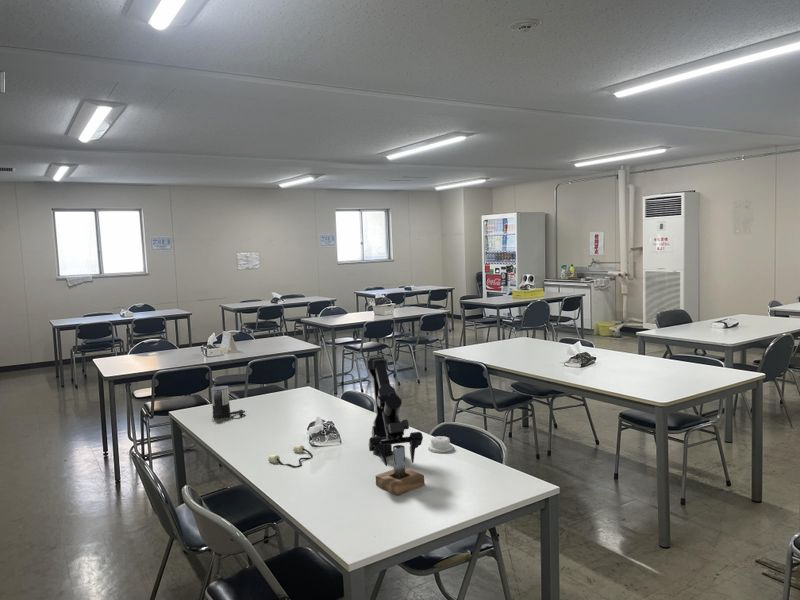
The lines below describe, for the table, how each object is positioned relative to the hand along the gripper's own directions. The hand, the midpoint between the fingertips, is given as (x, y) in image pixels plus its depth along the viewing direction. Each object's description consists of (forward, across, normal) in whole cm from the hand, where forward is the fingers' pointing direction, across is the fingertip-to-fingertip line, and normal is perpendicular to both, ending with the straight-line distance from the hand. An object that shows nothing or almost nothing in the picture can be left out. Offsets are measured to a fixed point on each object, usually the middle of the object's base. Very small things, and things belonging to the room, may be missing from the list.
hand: (399, 463), depth 198 cm
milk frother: (-77, -67, +89) cm, 135 cm away
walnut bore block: (+5, 0, +7) cm, 8 cm away
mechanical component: (-17, +23, +29) cm, 41 cm away
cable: (-22, -35, +35) cm, 54 cm away
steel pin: (+4, 0, +6) cm, 8 cm away
